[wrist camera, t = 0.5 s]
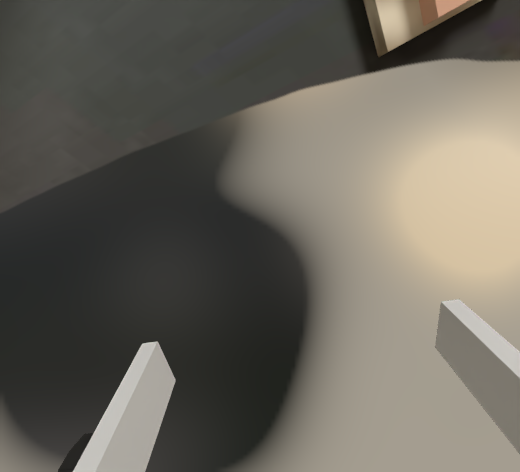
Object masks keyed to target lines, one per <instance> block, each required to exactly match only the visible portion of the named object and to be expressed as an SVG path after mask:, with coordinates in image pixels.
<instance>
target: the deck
mask: <svg viewBox="0 0 520 472" xmlns="http://www.w3.org/2000/svg"><path fill="white" fill-rule="evenodd" d="M363 1H364V5H365V9H366V13H367V16H368V20H369V24H370V28H371V32H372V35H373V39H374V43H375V47H376V51H377V54H378V57H380V56H382V55H384V54H386V53H387V52H389V51H391V50H393V49H395V48H396V47H398V46H400V45H402V44H404V43H405V42H407V41H409V40H411V39H413V38H414V37H416V36H418V35H420V34H422V33H423V32H425V31H427V30H429V29H431V28H432V27H434V26H436V25H438V24H440V23H441V22H443V21H445V20H447V19H449V18H451V17H452V16H454V15H456V14H458V13H460V12H461V11H463V10H465V9H467V8H469V7H470V6H472V5H474V4H476V3H478V2H479V1H481V0H470V1H468V2H467V3H465V4H463V5H461V6H459V7H458V8H456V9H454V10H452V11H450V12H449V13H447V14H445V15H443V16H441V17H440V18H438V19H436V20H434V21H433V22H431V23H429V24H427V25H425V26H424V25H423V20H422V15H421V9H420V4H419V0H363Z"/></svg>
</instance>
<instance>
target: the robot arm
mask: <svg viewBox="0 0 520 472" xmlns="http://www.w3.org/2000/svg"><path fill="white" fill-rule="evenodd" d="M435 348H436V349H437V350H438V351H439V352H440V354H441V355H442V356H443V358H444V359H445V360H446V361H447V363H448V364H449V365H450V366H451V368H452V369H453V370H454V372H455V373H456V374H457V375H458V377H459V378H460V379H461V380H462V382H463V383H464V384H465V385H466V387H467V388H468V389H469V390H470V392H471V393H472V394H473V396H474V397H475V398H476V399H477V401H478V402H479V403H480V404H481V406H482V407H483V408H484V410H485V411H486V412H487V413H488V415H489V416H490V417H491V418H492V420H493V421H494V422H495V423H496V425H497V426H498V427H499V428H500V430H501V431H502V432H503V433H504V435H505V436H506V437H507V439H508V440H509V441H510V442H511V444H512V445H513V446H514V447H515V449H516V450H517V451H518V453H519V454H520V352H519V351H518V350H517V349H516V348H515V347H513V346H512V345H511V344H510V343H509V342H508V341H506V340H505V339H504V338H503V337H502V336H501V335H500V334H498V333H497V332H496V331H495V330H494V329H493V328H491V327H490V326H489V325H488V324H487V323H486V322H484V320H482V319H481V318H480V317H479V316H478V315H477V314H475V313H474V312H473V311H472V310H471V309H470V308H469V307H467V306H466V305H465V304H464V303H463V302H462V301H461V300H459V299H457V300H450V301H443V302H441V306H440V314H439V321H438V329H437V337H436V346H435ZM174 383H175V378H174V376H173V374H172V372H171V370H170V367H169V365H168V363H167V361H166V359H165V357H164V354H163V352H162V350H161V348H160V346H159V343H158V342H150V343H143V344H142V346H141V347H140V349H139V351H138V353H137V355H136V357H135V358H134V360H133V362H132V364H131V366H130V368H129V369H128V371H127V373H126V375H125V377H124V379H123V380H122V382H121V384H120V386H119V388H118V390H117V391H116V393H115V395H114V397H113V399H112V401H111V403H110V404H109V406H108V408H107V410H106V412H105V413H104V415H103V417H102V419H101V421H100V423H99V425H98V426H97V429H96V430H95V432H94V433H90V434H84V435H83V436H82V437H81V438H80V440H79V441H78V442H77V443H76V444H75V445H74V446H73V448H72V449H71V450H70V451H69V453H68V454H67V456H66V458H65V460H64V461H63V463H62V465H61V466H60V468H59V470H58V472H145V470H146V467H147V464H148V461H149V458H150V455H151V452H152V449H153V446H154V443H155V440H156V437H157V434H158V431H159V428H160V425H161V422H162V419H163V416H164V413H165V410H166V407H167V404H168V401H169V398H170V395H171V392H172V389H173V386H174Z"/></svg>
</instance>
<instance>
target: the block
mask: <svg viewBox="0 0 520 472" xmlns="http://www.w3.org/2000/svg"><path fill="white" fill-rule="evenodd" d="M468 1H470V0H419V4H420V9H421V15H422V20H423V25H424V26H425V25H427V24H429V23H431V22H433V21H434V20H436V19H438V18H440V17H441V16H443V15H445V14H447V13H449V12H450V11H452V10H454V9H456V8H458V7H459V6H461V5H463V4H465V3H467V2H468Z"/></svg>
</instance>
